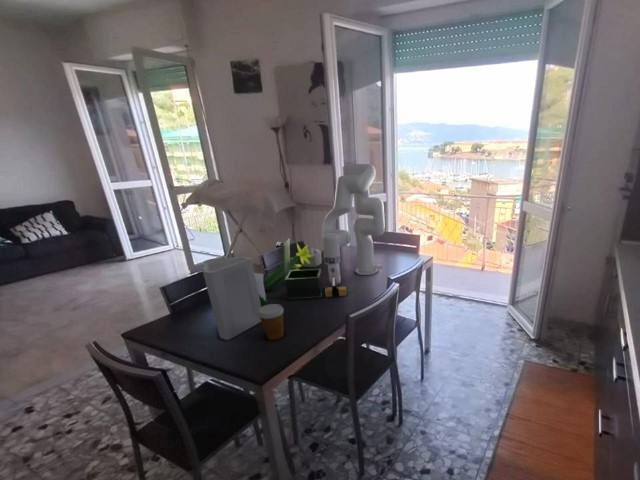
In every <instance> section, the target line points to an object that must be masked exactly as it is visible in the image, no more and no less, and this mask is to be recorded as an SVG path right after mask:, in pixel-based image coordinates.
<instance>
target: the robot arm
mask: <svg viewBox="0 0 640 480" xmlns="http://www.w3.org/2000/svg"><path fill="white" fill-rule="evenodd" d="M341 172H342V175H340V176H339V177H338V178H337V180H336V185H335V193H334V194H335V195H334V203H333V206H332V208H331V210H329V212H327V214H326V216H325V218H324V219H323V222H322V228H321V241H322V249H323V257H324V264H325V265H327V272H328V273H327V274H328V281H329V284H330V285H331V287H332V296H331V297H333V298H335V297H340V296H339V290H338V287H340V283H341V277H342V276H341V268H340V263H341V251H340V248H341V247H344V246H345V247H346V246H347V245H349V244H350V243H351V241H352V234H351V233H350V231H348V230H346V229H334V228H333V225H334V223H335V221H336V220H337V219H339V218H340V217H341V216H344V215H346V214H347V213H350V212H351V211H352V207H354V212H355V213H356V215H360V216H358V217H357V218H355V219H354V220H353V223H352V227H353V228H352V229H353V232H354V236H355V245H356V257H357V258H356V259H357V268H356V269H355V273H356V274H357V275H359V276H370V275H375V274H376V273H378V269H380V270H382V269H383V265H382V264H376V263H375V252H374V249H375V248H374V240H373V238H372V236H374V237H380V236H382V235H384V233H385V230H386V229H385V228H386V223H385V222H386V221H385V205H384V202H383V200H382V199H381V198H380V197H377V196H376V197H374V196H371V195H370V186H371V185H372V184H373V182H374V181H375V178H376V176H377V175H376V173H377V171H376V168H375V166H374V165H372V164H371V163H347V164H344V165H343V166H342V169H341ZM353 205H354V206H353ZM369 216H370V217H369ZM371 216H372V217H371Z"/></svg>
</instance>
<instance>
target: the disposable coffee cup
mask: <svg viewBox="0 0 640 480" xmlns="http://www.w3.org/2000/svg"><path fill="white" fill-rule="evenodd" d="M284 310H285V309H284V307H283V306H282V305H281V304H278V303H270V304H268V305H265V306H263V307H261V308H260V309H259V312H258V315H259V317H260V319H261V324H262V327H263V329H264V332H265V335H266V338H267V339H268V340H273V341H274V340H279V339H281V338H283V337H284Z"/></svg>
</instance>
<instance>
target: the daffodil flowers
mask: <svg viewBox="0 0 640 480" xmlns="http://www.w3.org/2000/svg"><path fill="white" fill-rule="evenodd" d="M296 248H297V251H298V252H296V253H295V254H294V255H293V257H291V258H290V270H300V268H301V267H303V265H302V264H303V263H304V260H305V261H306V262H307V263H309V264H311V263H310V262H309V260H308V259H307V257H313V255H311V254H308V251H307V250H308V248H309V244H305V246H304V247H302V248H301V247H300V245H299V244H298V242H296ZM299 260H300V263H301V264H300V263H299V262H298V261H299ZM285 279H286V278H284V260H282V262H281V263H280V264H279V265H278V266H277V267H276V268H275V269H274V270H273V272H271V273H270V274H269V275H267V277H265V278H263V285H264V290H266V291H268V292H269V291H272V292H274V291H275V290H276V289H277V288H278V287H279V286H280V285H281V284H282V283H283V282H284V281H285Z"/></svg>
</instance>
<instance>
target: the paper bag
mask: <svg viewBox="0 0 640 480" xmlns="http://www.w3.org/2000/svg"><path fill="white" fill-rule="evenodd" d="M201 271H202V275H203V278H204V282H205V285H206V289H207V293H208V298H209V301H210V305H211V308H212V312H213V317H214V320H215V324H216V328H217V332H218V335H219V338H220V339H223V340H225V341H229V340H231V339H233V338H234V337H236V336H238V335H241V334H242V333H243V332H245V331H247V330H249V329H251V328H252V327H255V326H256V325H258V324H259V323H262V321H261V319H260V317H259V315H258V312H259V309H260V308H261V303H260V298H259V293H258V288H257V283H256V278H255V273H256V272H255V268H254V264H253V260H252V257H249V256H234V257H221V258H209V259H206V260H204V261H203V262H202V270H201Z"/></svg>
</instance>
